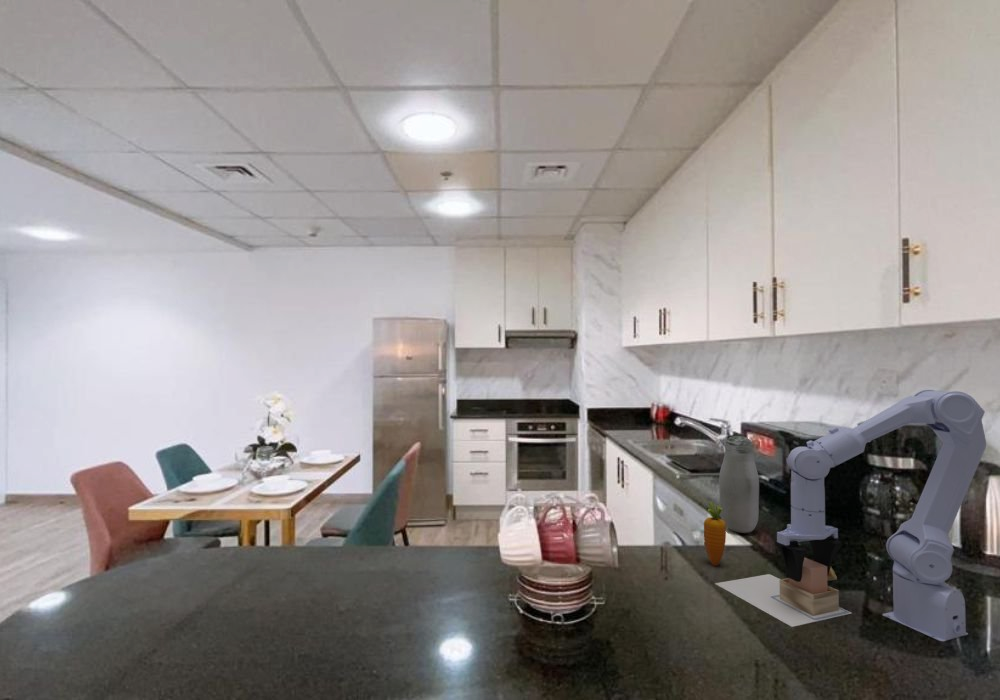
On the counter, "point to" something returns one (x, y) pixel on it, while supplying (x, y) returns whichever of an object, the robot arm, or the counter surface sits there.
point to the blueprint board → (773, 600)
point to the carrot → (714, 535)
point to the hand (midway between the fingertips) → (808, 577)
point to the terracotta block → (812, 577)
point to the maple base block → (809, 599)
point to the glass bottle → (739, 486)
